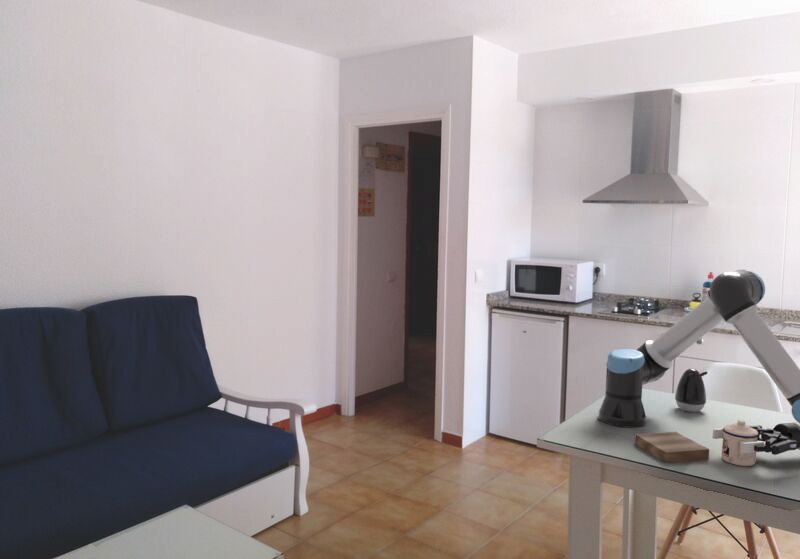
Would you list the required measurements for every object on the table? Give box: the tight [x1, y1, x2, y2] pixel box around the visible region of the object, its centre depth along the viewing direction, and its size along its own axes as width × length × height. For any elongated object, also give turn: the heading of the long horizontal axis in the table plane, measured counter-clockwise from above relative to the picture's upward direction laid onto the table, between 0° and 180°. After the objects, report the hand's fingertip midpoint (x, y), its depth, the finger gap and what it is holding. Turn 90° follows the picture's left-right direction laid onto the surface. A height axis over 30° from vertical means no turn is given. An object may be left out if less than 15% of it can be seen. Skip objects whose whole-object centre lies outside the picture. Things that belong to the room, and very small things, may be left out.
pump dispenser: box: [674, 368, 708, 413], centre depth 235 cm, size 10×10×15 cm
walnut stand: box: [634, 431, 710, 464], centre depth 194 cm, size 15×14×3 cm
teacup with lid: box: [721, 419, 759, 467], centre depth 186 cm, size 12×9×12 cm
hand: (727, 440), depth 185 cm, fingers closed on teacup with lid, 11 cm apart
